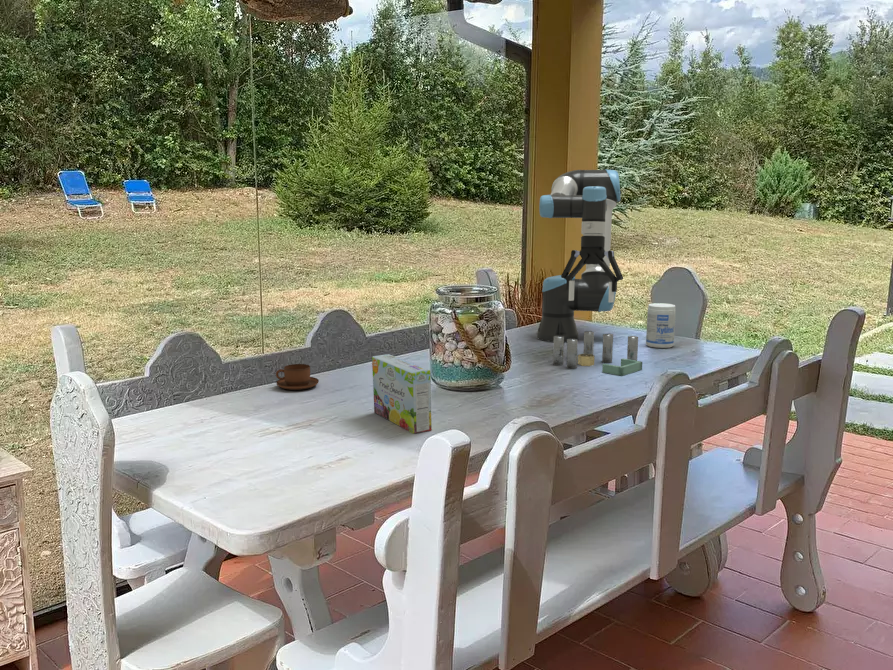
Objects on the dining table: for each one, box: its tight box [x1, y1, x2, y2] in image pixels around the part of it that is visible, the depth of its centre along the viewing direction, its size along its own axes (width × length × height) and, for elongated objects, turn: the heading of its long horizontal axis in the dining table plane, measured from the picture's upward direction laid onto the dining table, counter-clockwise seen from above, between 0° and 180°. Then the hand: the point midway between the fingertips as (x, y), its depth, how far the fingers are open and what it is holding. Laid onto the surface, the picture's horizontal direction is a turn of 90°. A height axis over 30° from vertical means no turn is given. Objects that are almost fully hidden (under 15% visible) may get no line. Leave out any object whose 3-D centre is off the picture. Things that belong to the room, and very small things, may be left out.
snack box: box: [371, 353, 433, 435], centre depth 208 cm, size 21×6×15 cm, turn 32°
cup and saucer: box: [275, 363, 320, 391], centre depth 243 cm, size 12×12×6 cm
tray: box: [601, 358, 643, 377], centre depth 261 cm, size 7×11×2 cm, turn 136°
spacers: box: [552, 330, 639, 370], centre depth 269 cm, size 21×20×9 cm
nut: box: [577, 353, 595, 367], centre depth 271 cm, size 5×4×3 cm
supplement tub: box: [645, 302, 677, 349], centre depth 298 cm, size 10×10×15 cm
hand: (590, 301), depth 274 cm, fingers open, 13 cm apart
